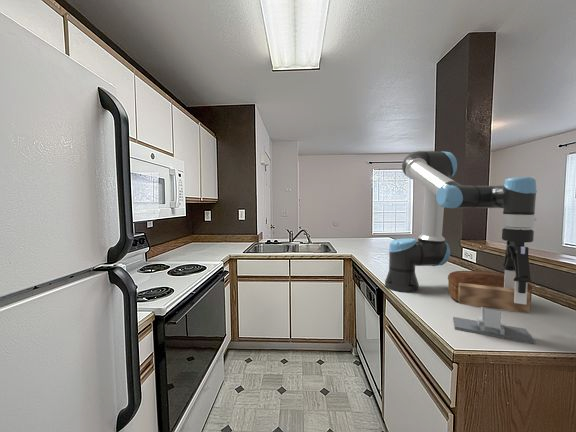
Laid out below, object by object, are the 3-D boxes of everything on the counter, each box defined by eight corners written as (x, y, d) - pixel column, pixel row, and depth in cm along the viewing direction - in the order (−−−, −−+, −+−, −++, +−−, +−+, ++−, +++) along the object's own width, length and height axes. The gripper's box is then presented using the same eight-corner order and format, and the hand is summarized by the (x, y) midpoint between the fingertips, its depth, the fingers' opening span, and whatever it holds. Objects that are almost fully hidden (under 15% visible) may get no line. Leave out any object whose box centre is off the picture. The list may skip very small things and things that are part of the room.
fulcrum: (454, 329, 91) (455, 305, 91) (453, 319, 99) (453, 297, 99) (534, 343, 82) (535, 317, 82) (525, 331, 90) (526, 307, 90)
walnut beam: (459, 303, 92) (459, 285, 92) (458, 299, 96) (458, 282, 96) (529, 313, 84) (530, 293, 84) (525, 309, 88) (526, 290, 88)
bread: (444, 293, 128) (445, 266, 127) (519, 300, 119) (520, 271, 119) (451, 303, 115) (452, 273, 114) (536, 312, 106) (538, 280, 105)
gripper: (548, 233, 74) (543, 312, 75) (522, 225, 96) (518, 287, 97) (512, 231, 77) (508, 307, 78) (494, 224, 99) (492, 284, 100)
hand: (514, 296), depth 88 cm, fingers open, 13 cm apart
